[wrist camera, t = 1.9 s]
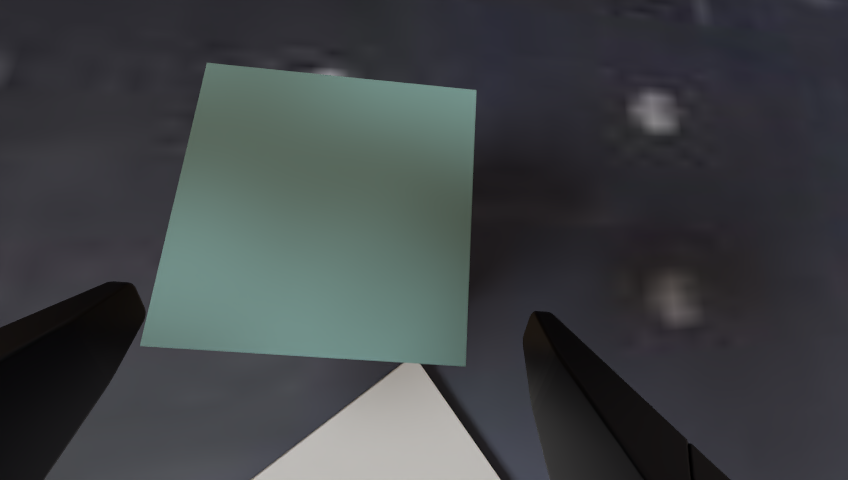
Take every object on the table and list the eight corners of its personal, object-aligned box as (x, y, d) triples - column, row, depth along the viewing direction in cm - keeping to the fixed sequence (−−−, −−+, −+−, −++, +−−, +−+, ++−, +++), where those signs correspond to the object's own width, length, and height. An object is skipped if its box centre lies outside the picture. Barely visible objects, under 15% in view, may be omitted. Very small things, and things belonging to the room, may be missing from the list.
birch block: (421, 335, 17) (465, 366, 6) (317, 328, 17) (140, 345, 5) (428, 236, 18) (475, 90, 7) (330, 228, 18) (207, 63, 7)
